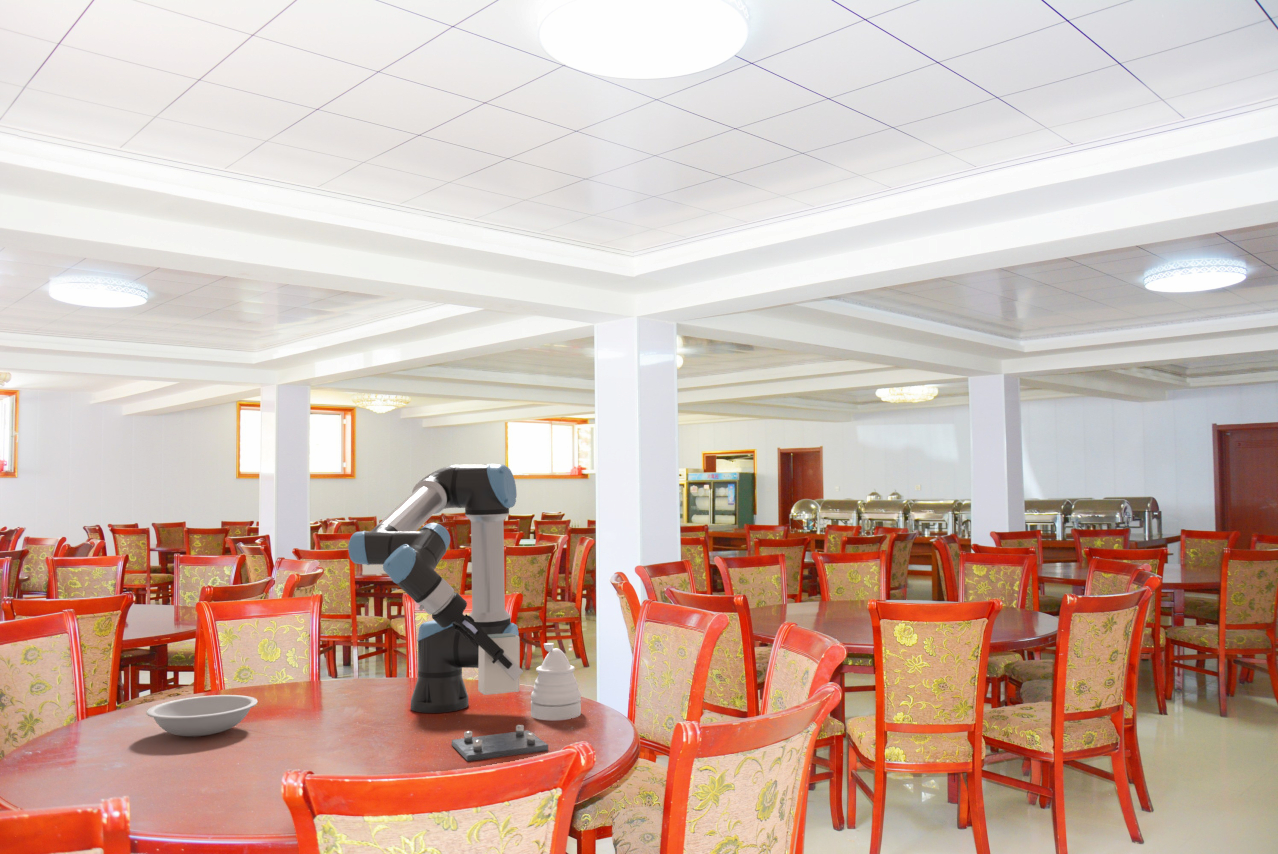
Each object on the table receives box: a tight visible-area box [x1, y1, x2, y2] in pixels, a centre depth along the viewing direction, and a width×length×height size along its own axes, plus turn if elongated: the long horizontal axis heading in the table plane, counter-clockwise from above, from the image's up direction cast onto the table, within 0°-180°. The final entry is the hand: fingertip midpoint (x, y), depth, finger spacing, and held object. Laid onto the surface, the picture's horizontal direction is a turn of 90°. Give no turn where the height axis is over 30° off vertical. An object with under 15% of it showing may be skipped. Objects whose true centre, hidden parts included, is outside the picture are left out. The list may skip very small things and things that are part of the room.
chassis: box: [451, 724, 549, 762], centre depth 197 cm, size 14×18×3 cm
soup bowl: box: [145, 694, 258, 737], centre depth 213 cm, size 24×24×7 cm
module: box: [477, 633, 521, 696], centre depth 198 cm, size 5×8×12 cm, turn 115°
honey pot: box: [530, 642, 582, 721], centre depth 229 cm, size 13×13×18 cm
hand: (514, 673), depth 200 cm, fingers closed on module, 5 cm apart
